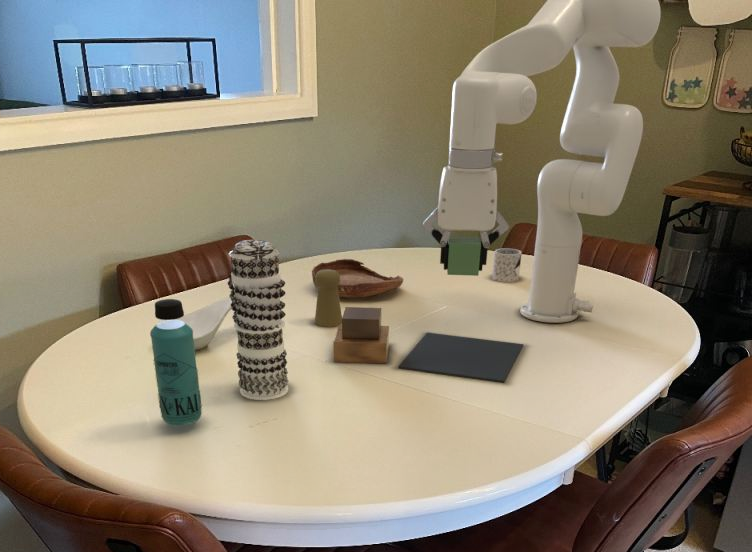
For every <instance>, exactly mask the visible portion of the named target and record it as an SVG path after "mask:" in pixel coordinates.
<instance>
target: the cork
mask: <svg viewBox="0 0 752 552" xmlns="http://www.w3.org/2000/svg"><path fill="white" fill-rule="evenodd" d="M315 281H316V284H317V286H318V290H317V296H316V304H315V315H314V316H315V317H314V324H315V325H316V326H320V327H324V328H326V327H327V328H329V327H338V326H339V324H342V317H343V314H342V308H341V307H342V306H341V301H340V297H339V293H338V285H339V283H340V275H339V273H338V272H337V271H335V270H330V269H325V270H320V271H319V272H317V274H316V277H315Z"/></svg>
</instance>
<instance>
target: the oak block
mask: <svg viewBox="0 0 752 552" xmlns="http://www.w3.org/2000/svg"><path fill="white" fill-rule="evenodd" d="M389 347H390V325H381V332H380V337H379V340H357V339H342V324H339V325H338V326H337V329H336V333H335V336H334V339H333V362H334V363H358V364H359V363H361V364H387V360H388V353H389Z"/></svg>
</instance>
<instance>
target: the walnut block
mask: <svg viewBox="0 0 752 552" xmlns="http://www.w3.org/2000/svg"><path fill="white" fill-rule="evenodd" d="M344 307H345V308H344V310H343V314H342V339H357V340H379V337H380V332H381V326H382V310H383V309H382V307H362V306H361V307H358V306H344Z"/></svg>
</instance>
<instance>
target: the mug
mask: <svg viewBox="0 0 752 552" xmlns="http://www.w3.org/2000/svg"><path fill="white" fill-rule="evenodd" d="M522 254H523V253H522V251H521V250H519V249H516V248H507V247H505V248H497V249H494V256H493V266H492V267H493V269H492V280H493V281H496V282H499V283H500V282H501V283H514V282H517V281H519V279H520V271H521V263H522Z"/></svg>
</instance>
